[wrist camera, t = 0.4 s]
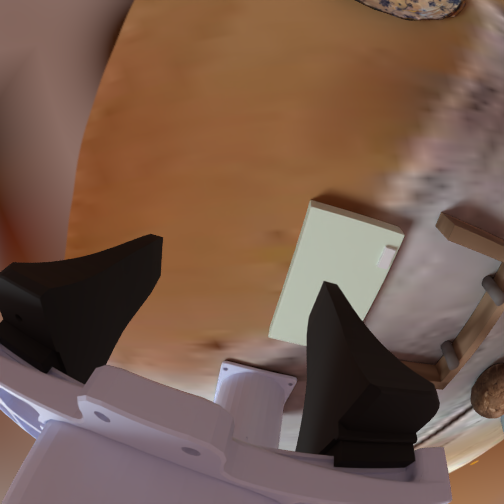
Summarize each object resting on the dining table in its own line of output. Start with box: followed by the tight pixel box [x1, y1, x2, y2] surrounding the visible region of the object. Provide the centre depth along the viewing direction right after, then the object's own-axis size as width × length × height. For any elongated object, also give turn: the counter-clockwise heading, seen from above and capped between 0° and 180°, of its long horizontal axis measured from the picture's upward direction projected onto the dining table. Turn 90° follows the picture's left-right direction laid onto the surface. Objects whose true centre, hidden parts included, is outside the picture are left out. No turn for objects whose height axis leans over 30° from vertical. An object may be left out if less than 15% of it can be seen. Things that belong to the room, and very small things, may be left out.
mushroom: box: [471, 363, 504, 418], centre depth 24 cm, size 8×8×6 cm
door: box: [268, 200, 405, 346], centre depth 23 cm, size 12×7×2 cm, turn 168°
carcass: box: [400, 212, 504, 390], centre depth 21 cm, size 16×10×3 cm, turn 168°
